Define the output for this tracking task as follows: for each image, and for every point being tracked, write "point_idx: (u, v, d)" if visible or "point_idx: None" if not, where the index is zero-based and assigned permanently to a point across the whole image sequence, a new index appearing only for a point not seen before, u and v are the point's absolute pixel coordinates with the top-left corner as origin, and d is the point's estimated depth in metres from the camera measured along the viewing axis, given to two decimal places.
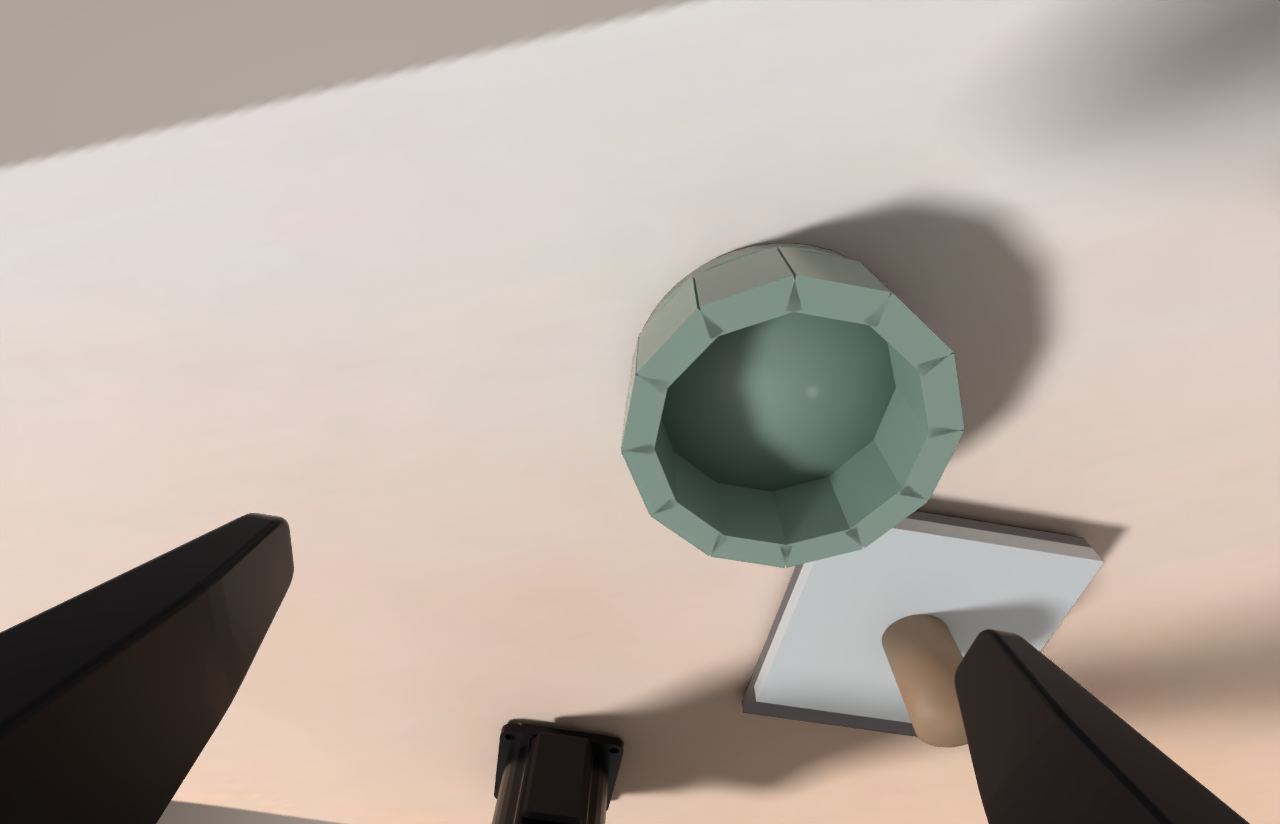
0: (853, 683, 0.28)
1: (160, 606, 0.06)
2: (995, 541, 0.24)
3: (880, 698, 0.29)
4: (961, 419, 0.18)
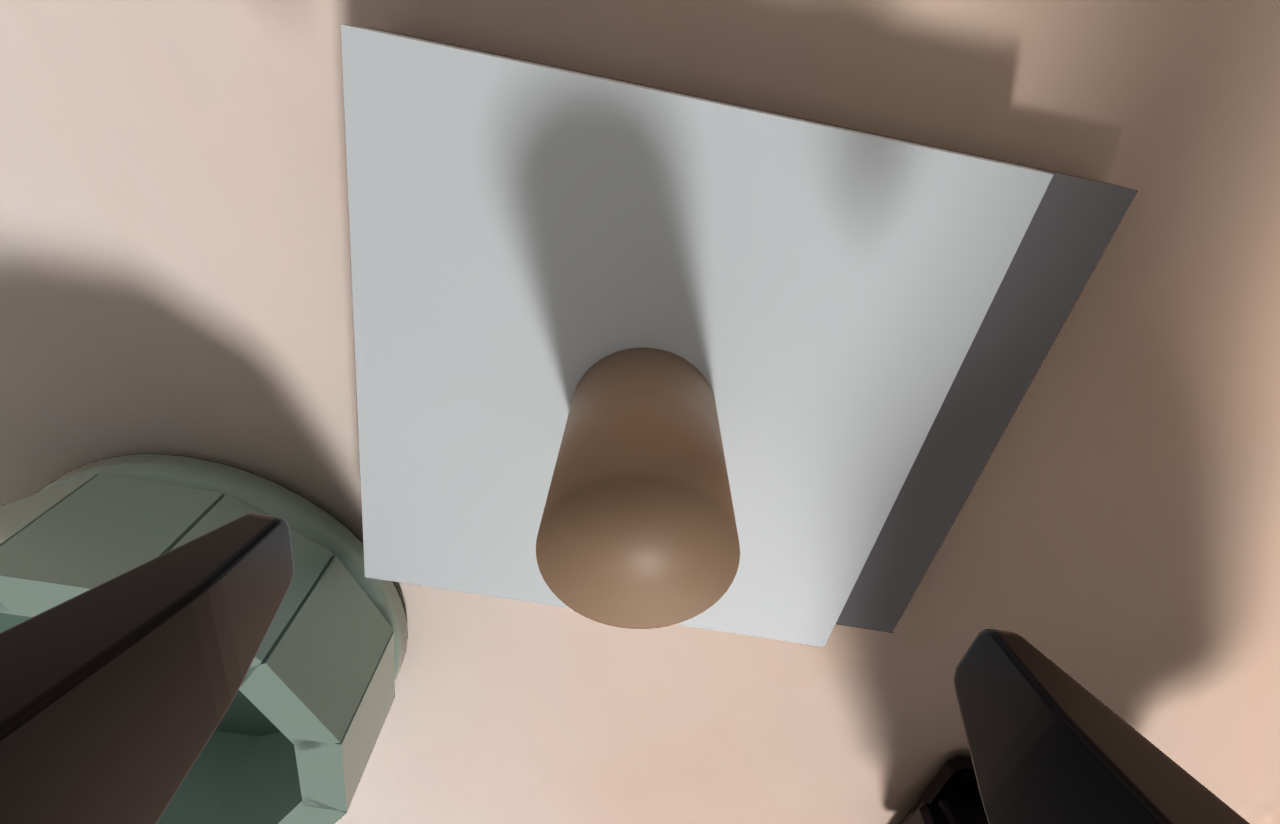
0: (787, 505, 0.13)
1: (160, 606, 0.06)
2: None
3: (846, 450, 0.12)
4: None
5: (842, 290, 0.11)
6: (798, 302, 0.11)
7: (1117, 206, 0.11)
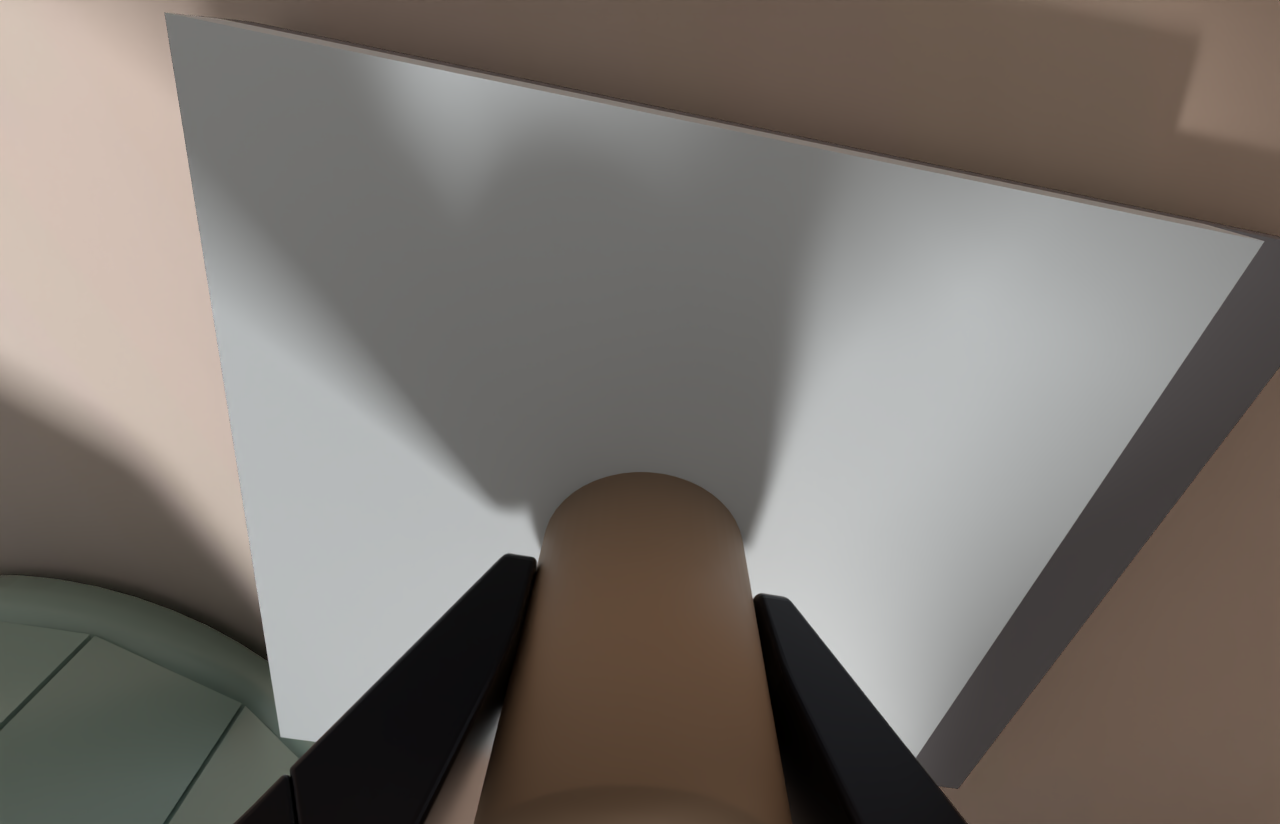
0: None
1: (490, 654, 0.06)
2: None
3: (921, 599, 0.09)
4: None
5: (930, 399, 0.07)
6: (865, 415, 0.08)
7: None
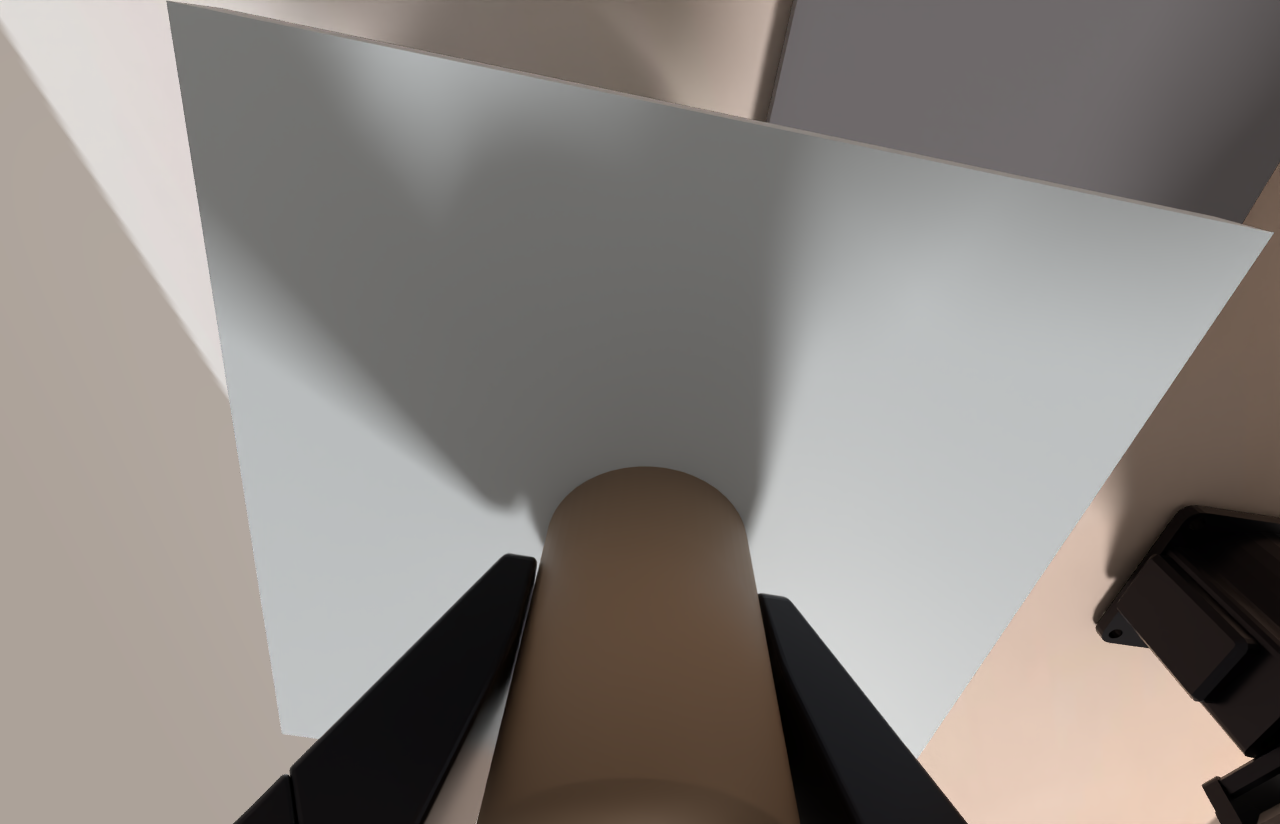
0: (840, 659, 0.10)
1: (490, 655, 0.06)
2: None
3: (926, 595, 0.09)
4: None
5: (936, 393, 0.07)
6: (870, 407, 0.07)
7: None
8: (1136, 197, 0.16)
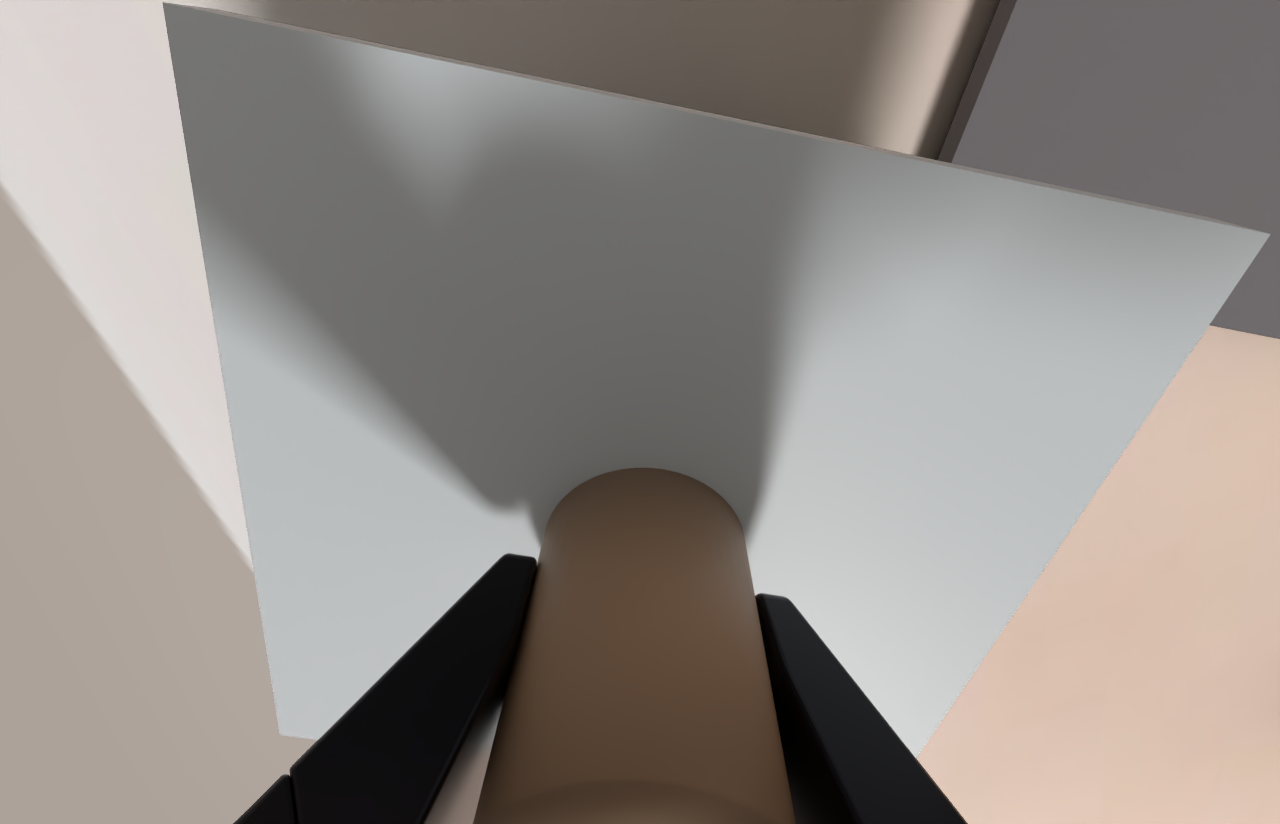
0: (838, 660, 0.10)
1: (490, 654, 0.06)
2: None
3: (923, 596, 0.09)
4: None
5: (933, 394, 0.07)
6: (868, 409, 0.07)
7: None
8: None
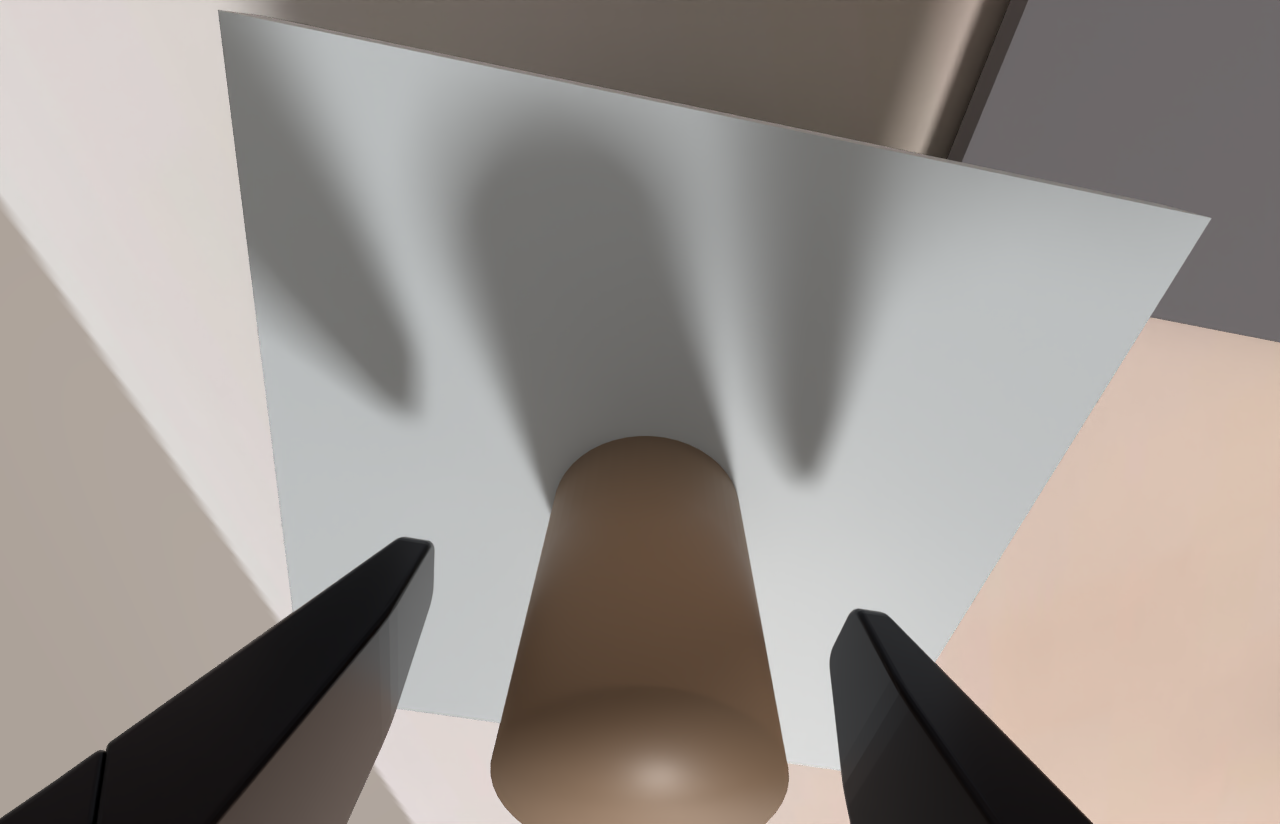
0: (827, 620, 0.10)
1: (355, 635, 0.06)
2: None
3: (905, 558, 0.10)
4: None
5: (911, 366, 0.08)
6: (850, 380, 0.08)
7: None
8: None
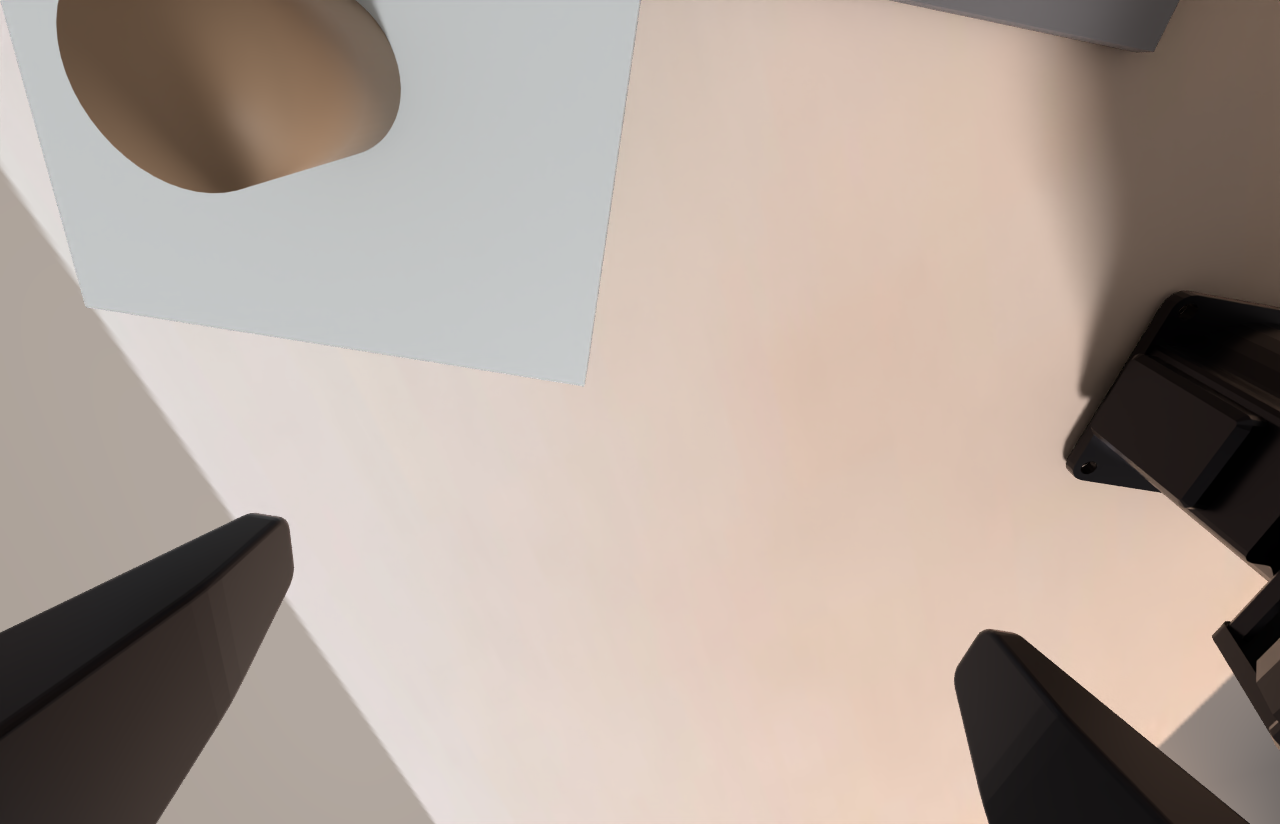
0: (502, 194, 0.12)
1: (160, 606, 0.06)
2: None
3: (547, 116, 0.12)
4: None
5: None
6: None
7: None
8: None
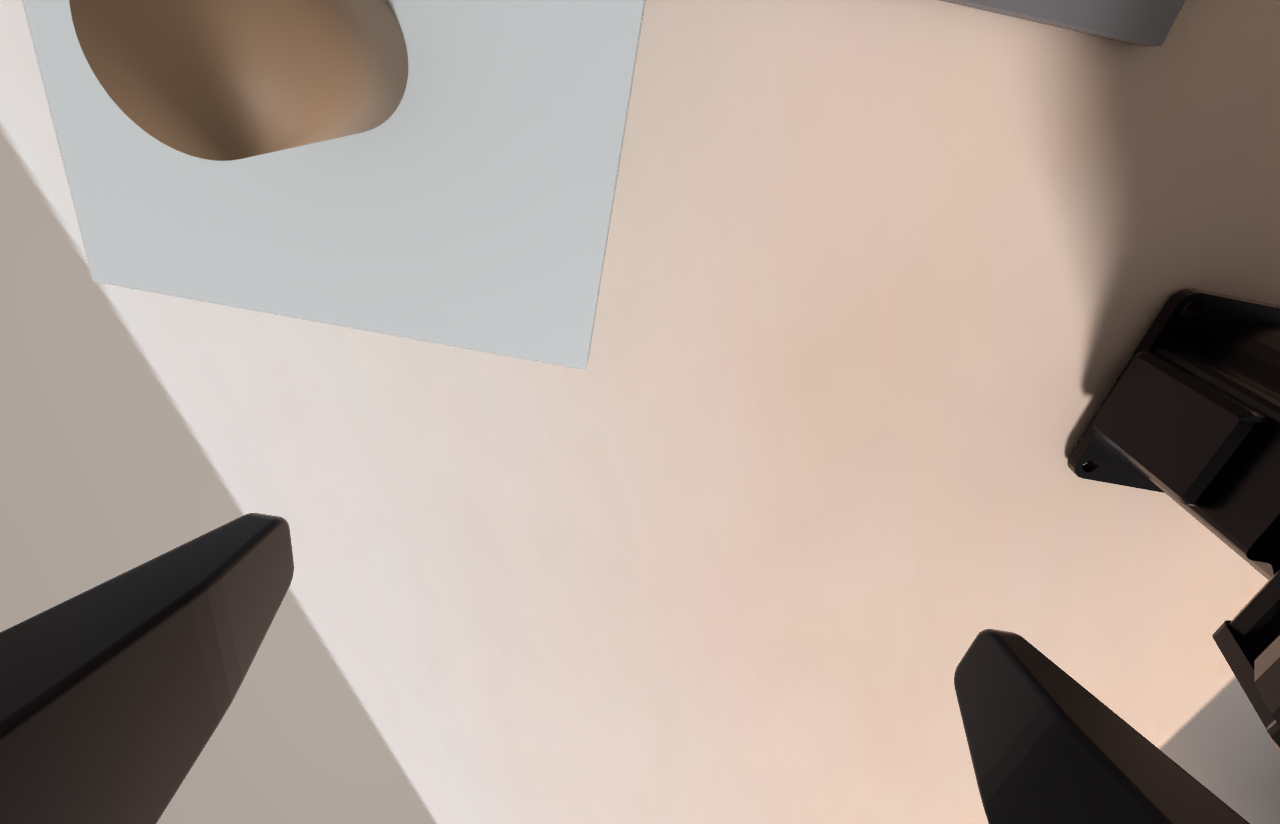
0: (507, 175, 0.12)
1: (160, 606, 0.06)
2: None
3: (552, 97, 0.12)
4: None
5: None
6: None
7: None
8: None
